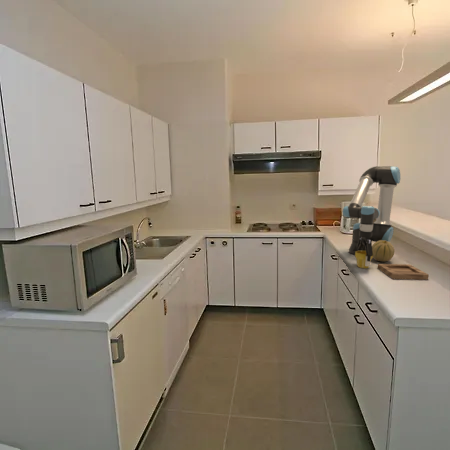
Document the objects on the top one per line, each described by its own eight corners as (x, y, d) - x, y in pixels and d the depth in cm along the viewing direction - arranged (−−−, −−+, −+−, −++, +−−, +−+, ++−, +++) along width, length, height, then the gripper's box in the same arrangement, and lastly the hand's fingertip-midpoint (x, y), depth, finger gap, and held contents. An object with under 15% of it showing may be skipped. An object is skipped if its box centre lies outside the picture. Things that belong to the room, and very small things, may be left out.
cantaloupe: (381, 257, 230) (382, 237, 227) (398, 263, 216) (400, 241, 214) (364, 259, 224) (366, 238, 222) (381, 265, 211) (384, 243, 208)
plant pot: (363, 264, 214) (364, 249, 212) (375, 268, 204) (376, 253, 202) (350, 265, 210) (351, 251, 208) (362, 270, 200) (364, 255, 199)
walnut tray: (377, 268, 204) (377, 264, 203) (409, 269, 203) (410, 264, 203) (392, 279, 184) (393, 274, 184) (428, 279, 184) (428, 274, 183)
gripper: (352, 227, 215) (350, 257, 219) (368, 234, 191) (365, 268, 194) (364, 227, 215) (361, 257, 219) (380, 234, 191) (377, 268, 194)
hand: (363, 263), depth 206 cm, fingers open, 13 cm apart
